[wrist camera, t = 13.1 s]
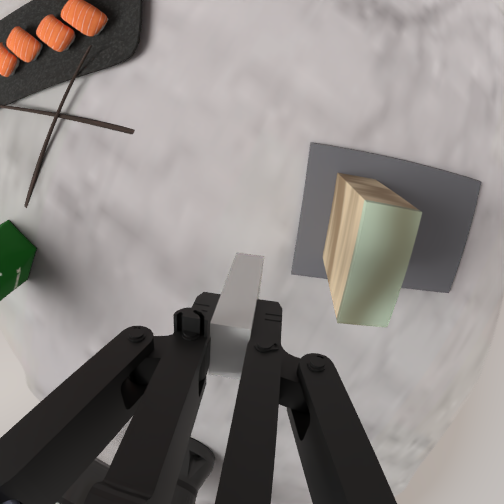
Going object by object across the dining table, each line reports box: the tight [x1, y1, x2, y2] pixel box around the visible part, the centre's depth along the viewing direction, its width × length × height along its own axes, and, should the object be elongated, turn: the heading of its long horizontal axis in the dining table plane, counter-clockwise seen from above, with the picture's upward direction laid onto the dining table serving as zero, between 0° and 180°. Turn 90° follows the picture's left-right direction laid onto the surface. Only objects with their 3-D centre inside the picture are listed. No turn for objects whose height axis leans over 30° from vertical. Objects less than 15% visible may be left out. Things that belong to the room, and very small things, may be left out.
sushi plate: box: [0, 0, 142, 208], centre depth 28 cm, size 29×30×4 cm
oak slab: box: [323, 173, 422, 327], centre depth 26 cm, size 4×9×12 cm, turn 175°
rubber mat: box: [291, 143, 481, 293], centre depth 31 cm, size 20×14×1 cm
